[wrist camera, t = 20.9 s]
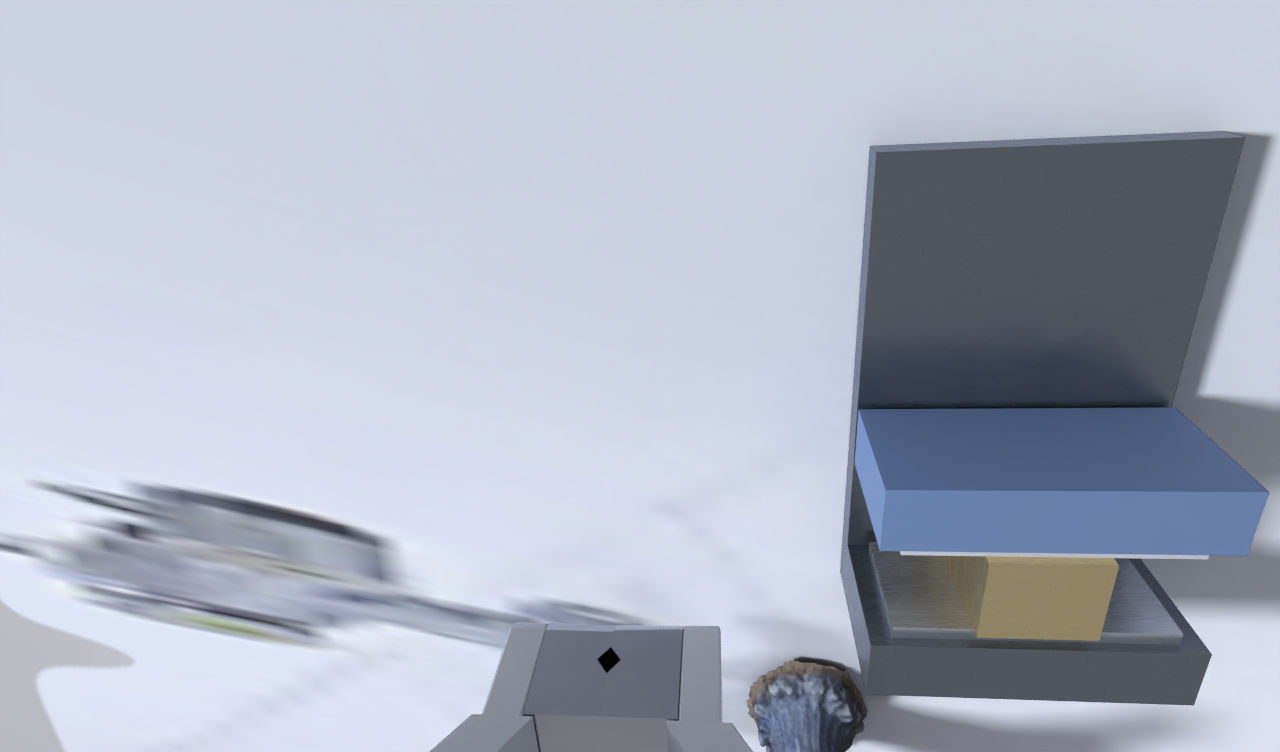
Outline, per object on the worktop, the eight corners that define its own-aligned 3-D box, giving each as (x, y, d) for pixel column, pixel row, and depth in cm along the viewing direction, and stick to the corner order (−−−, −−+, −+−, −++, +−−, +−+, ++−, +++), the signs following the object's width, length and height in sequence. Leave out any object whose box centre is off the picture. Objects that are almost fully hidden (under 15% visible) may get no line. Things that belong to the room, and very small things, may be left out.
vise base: (870, 145, 33) (914, 190, 25) (1223, 131, 32) (1382, 173, 24) (840, 571, 43) (866, 694, 35) (1106, 575, 42) (1193, 705, 34)
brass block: (945, 470, 38) (989, 564, 32) (1052, 470, 37) (1119, 566, 31) (936, 536, 40) (976, 637, 33) (1038, 537, 39) (1099, 640, 33)
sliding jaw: (858, 409, 37) (885, 490, 31) (1175, 407, 35) (1269, 492, 29) (853, 473, 38) (878, 562, 32) (1156, 474, 37) (1242, 568, 31)
